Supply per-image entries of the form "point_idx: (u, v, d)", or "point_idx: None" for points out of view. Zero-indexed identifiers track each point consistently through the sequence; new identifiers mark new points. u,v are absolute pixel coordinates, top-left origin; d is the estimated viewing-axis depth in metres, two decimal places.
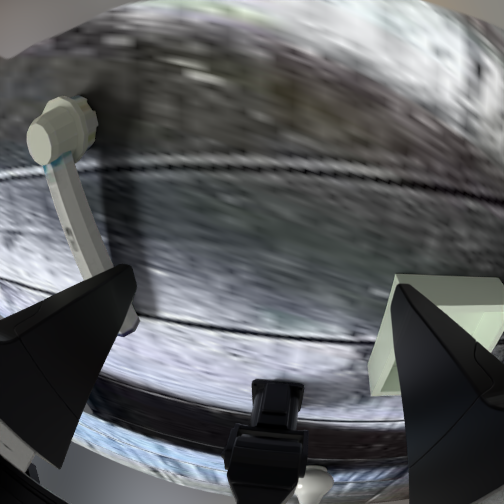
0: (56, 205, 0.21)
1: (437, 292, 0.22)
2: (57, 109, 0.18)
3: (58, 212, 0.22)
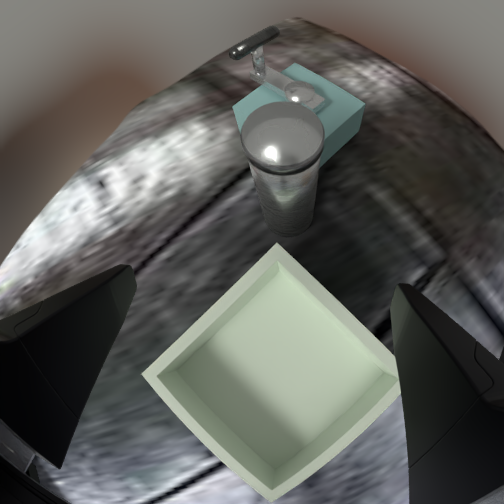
0: None
1: None
2: None
3: None
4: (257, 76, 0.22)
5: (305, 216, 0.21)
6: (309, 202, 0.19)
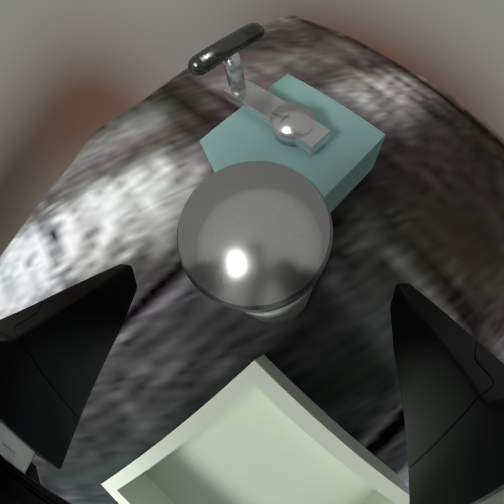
0: None
1: None
2: None
3: None
4: (233, 96, 0.16)
5: (297, 312, 0.14)
6: (302, 304, 0.13)
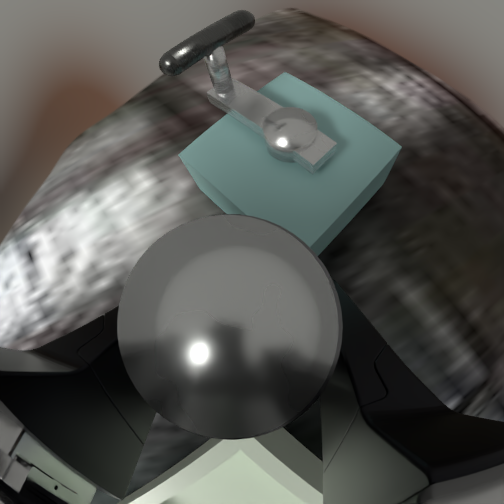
0: None
1: (129, 498, 0.11)
2: None
3: None
4: (218, 99, 0.14)
5: None
6: None
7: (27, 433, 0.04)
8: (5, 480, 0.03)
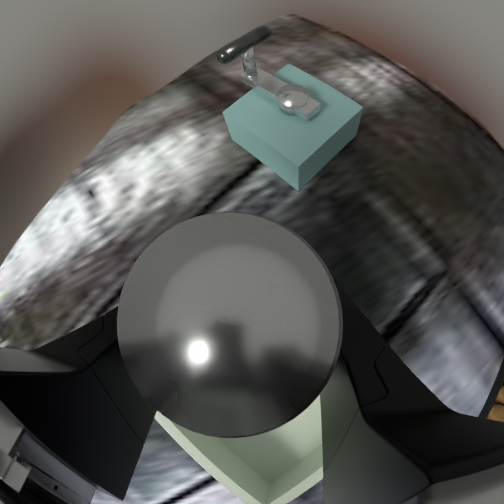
0: None
1: None
2: None
3: None
4: (248, 79, 0.21)
5: None
6: None
7: (26, 433, 0.04)
8: (5, 480, 0.03)
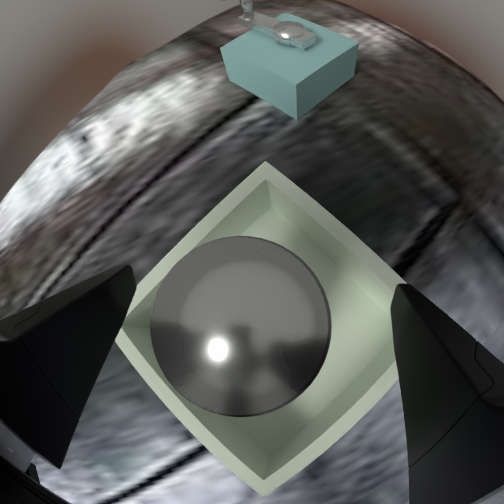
0: None
1: None
2: None
3: None
4: (246, 20, 0.19)
5: None
6: None
7: None
8: None
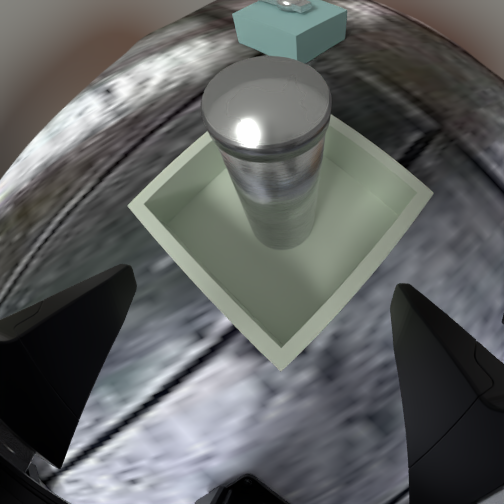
0: None
1: None
2: None
3: None
4: None
5: (304, 223, 0.15)
6: (309, 204, 0.13)
7: None
8: None
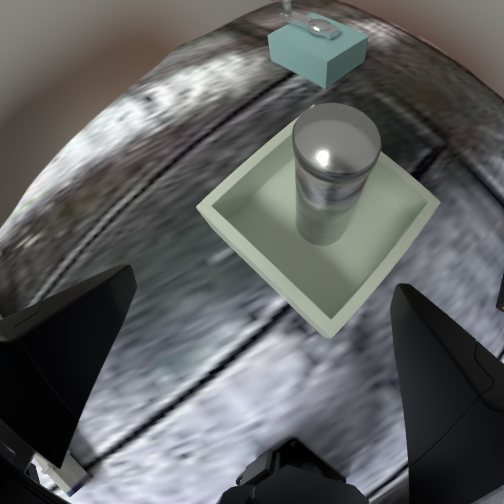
0: None
1: None
2: None
3: None
4: (286, 16, 0.25)
5: (344, 225, 0.19)
6: (352, 211, 0.17)
7: None
8: None
